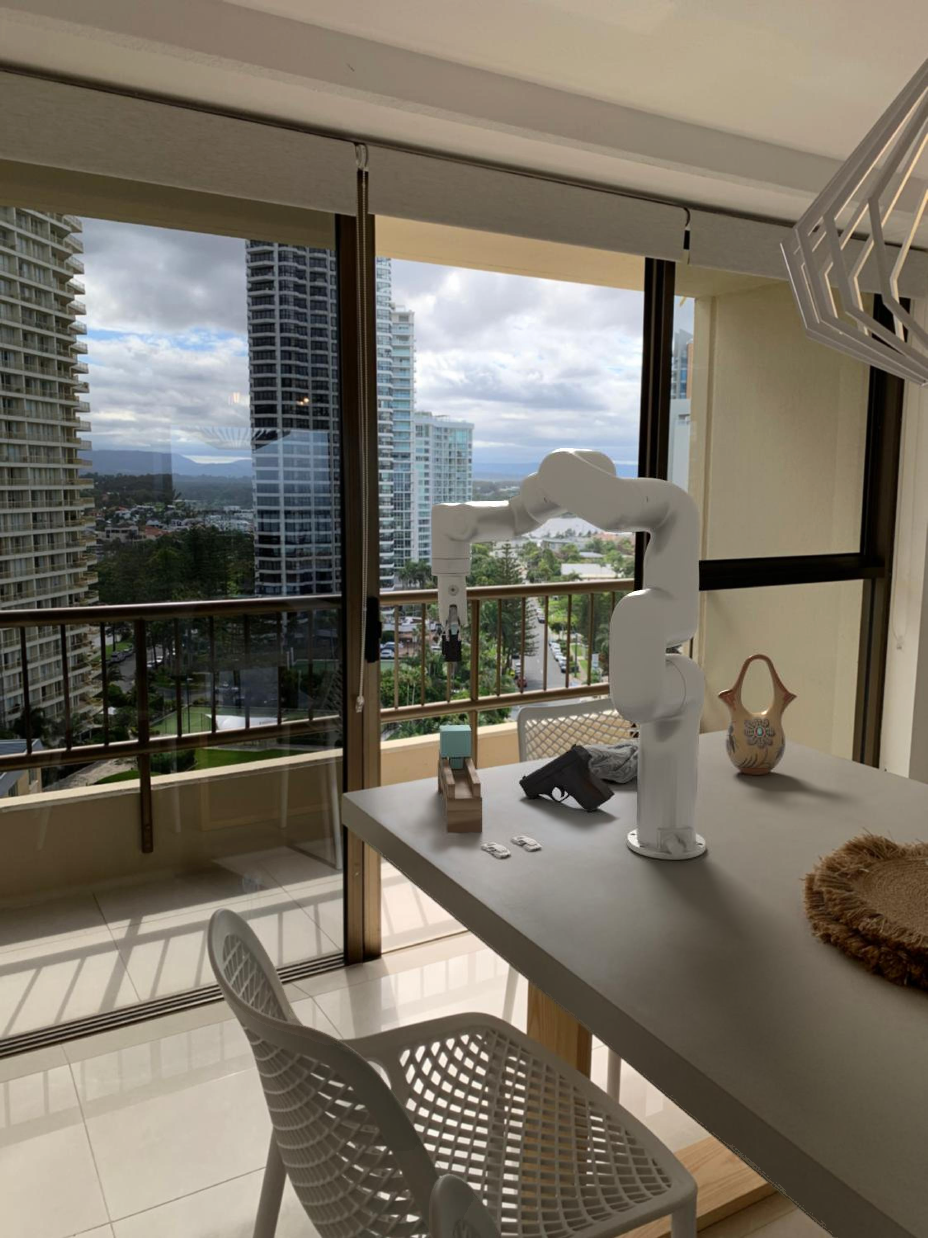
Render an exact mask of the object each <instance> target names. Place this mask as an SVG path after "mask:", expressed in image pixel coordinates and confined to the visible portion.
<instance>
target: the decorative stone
mask: <svg viewBox="0 0 928 1238" xmlns="http://www.w3.org/2000/svg"><path fill="white" fill-rule="evenodd" d="M582 746H583V747H584V748H585V749H586V750H587V751H588V752H589V753H590V754H591V755H592V756H593V758H591V759H590V761H589V769H590V770H591V772H592V773H593V774H595V775H596V776H597V777H598V778H600V779H601V780H609V781H615V782H616V783H619V784H625V783H628V782H629V781H631V780H632V779H633V778H635V777H636V778H637V777H638V741H637V740H634V739H626V740H625V741H619V742H615V743H614V744H601V743H600V744H588V745H586V744H585V745H582Z"/></svg>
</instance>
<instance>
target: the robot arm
mask: <svg viewBox="0 0 928 1238" xmlns="http://www.w3.org/2000/svg"><path fill="white" fill-rule="evenodd" d="M539 464H540V465H539V467H538V468H537V469H538V470H537V471H535V472H532V473H531V474H528V475H526V477H524V479H523V480H522V481H521V485H520V490H519V491H520V492H519V494H518V495H516V496H514V497H512V498H509V499H506V500H501V501H468V502H467V501H466V502H460V503H459V502H454V503H453V502H443V503H441V502H440V503H436V504H433V506H432V507H431V511H430V534H431V535H430V538H431V539H430V542H431V543H430V544H431V545H430V546H431V547H430V549H431V551H430V553H431V554H430V555H431V557H430V558H431V561H430V562H431V563H430V564H431V565H430V566H431V569H430V570H431V571H430V572H431V576H435V577H437V603H438V605H437V606H438V617H439V623H440V624H441V626H442V634H441V655H443V656H444V662H446V663H459V662H462V660H463V658H462V653H463V651H462V649H463V647H462V645H463V643H462V639H461V638H462V636H461V626H462V627H463V628H467V626H468V605H467V604H468V603H467V601H468V600H467V582H466V577H467V576H470V575H471V544H474V543H475V544H476V543H487V542H488V543H489V542H505V541H509V540H512V539H516V538H518V537H521V536H524V535H526V534H529V533H531V532H533V531H537V530H538V529H540V528H541V527H542V526H543V525H545V524H546V523H547V522H548V520H551V519H553V518H556V517H559V516H561V515H564V514H566V513H568V512H569V513H571V514H572V515H574V516H576V517H578V518H580V519H581V520H583V521H585V522H587V523H588V524H589V525H592V526H593V527H596V528H597V529H599V530H602V531H605V532H608V533H615V534H622V533H637V532H646V533H648V534H650V539H649V542H648V544H647V547H646V549H645V552H644V559H643V584H642V589H640V590H636V591H632V592H630V593H628V594H626V595H624V596H623V597H622V598H621V599H620V600H619V601H618V603H617V604H616V605H615V607H614V610H613V612H612V615H611V618H610V624H609V645H608V646H609V651H608V652H609V657H608V658H609V666H608V667H609V671H608V672H609V675H608V678H609V679H608V680H609V682H608V683H609V685H608V686H609V694H610V699H611V702H612V703H611V704H612V706H613V707H614V709H615V711H616V713H618V715H620V717H621V718H623V720H626V721H627V722H629V723H631V724H632V723H633V724H636V725H637V724H638V725H639V724H640V727H639V732H638V741H637V742H638V775H637V776H636V778H637V782H636V785H637V787H636V828H635V829H633V830H632V831H629V833H627V835H626V844H627V847H628V848H629V849H631V850H632V851H633V852H635V853H637V854H639V855H641V856H645V857H648V858H652V859H653V858H654V859H660V860H669V861H670V860H671V861H673V860H675V861H676V860H677V861H678V860H688V859H693V858H695V857H698V856H700V855H702V854H704V852H705V851H706V847H707V845H706V844H707V843H706V840H705V838H704V837H703V836H701V835H700V834H698V833H697V816H698V815H697V812H698V811H697V810H698V809H697V808H698V807H697V806H698V778H699V777H698V773H699V772H698V771H699V769H698V768H699V766H698V765H699V753H700V752H699V748H700V747H699V746H700V730H701V721H702V714H703V709H704V705H705V698H706V691H707V689H706V687H707V685H706V679H705V675H704V672H703V670H702V669H701V667H700V666H699V664H698V663H697V662H696V661H695V660H694V659H692V658H691V657H689V656H687V655H684V654H681V653H667V649H668V648H669V649H670V648H673V647H677V646H680V645H684V644H685V643H688V642H689V641H690V640H692V639H693V637H694V636H695V634H696V632H697V630H698V625H699V608H700V607H699V601H700V599H699V597H700V595H699V593H700V589H699V588H700V569H699V568H700V566H699V563H700V560H699V558H700V542H701V517H700V513H699V510H698V508H697V505H696V503H695V501H694V500H693V498H692V497H691V495H690V494H689V493H688V492H687V491H686V490H685V489H683V488H682V487H680V486H678V485H677V484H675V483H673V482H671V481H668V480H663V479H660V478H654V477H619V476H617V469H616V466H615V464H614V462H613V461H612V459H611V458H610V457H609V456H607V455H606V454H605V453H603V452H601V451H598V450H595V449H594V450H593V449H587V448H586V449H584V448H583V449H580V448H567V447H565V448H559V449H556V450H554V451H551V452H550V453H549V454H547V455H546V456H545V457H544V458H543V459H542V461H541V462H540V463H539Z"/></svg>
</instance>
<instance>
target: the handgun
mask: <svg viewBox="0 0 928 1238" xmlns="http://www.w3.org/2000/svg"><path fill="white" fill-rule="evenodd" d="M583 746H584V745H581V744H578V745H577V744H576V743H574V744H573V745H572V746H571V747H570V749H569V750H568V751H565V752H563V754H562V753H561V755H559V756H557V757H556V758H554V759H553V760H551V761H550V762H548V763H546V764H544V765H543V766H542V767H540V768H538V769H536V770H534V771H532V772H531V773H529V774H528V775H525V774H524V775H523V776H522V777H521V779H520V780H519V781H518V785H520V787H521V789H522V790H523V793H524V795H525V796H526V798H528V800H531V799H534V798H536V797H538V796H540V795H542V796H544V795H545V796H547V797H548V798H550V799H551V800H552V801H553V802H554V803H557V804H559V803H562V802H563V801H565V800H567V799H568V798H569V797H572V798H573V799H574V800H575V802H576V803H578V805H580V807H581V808H582V809H584V811H586V813H590V812H592V811H594V810H596V809H597V808H599V807H601V806H602V805H603V804H605V803H606V802H608V801H609V800H611V798H612V797H614V796H615V792H614V791H613V790H612V788H611V787H610V786H609V785H608V784H607V783H606V782H604V781H603V779H600V778H598V777H597V776H596V775H595V774H593V773H592V772H591V770H590V769H589V761H590V759H591V758H593V756H592V755H591V754H590V753H589V752H588V751H587V750H586V749H585V748H584V747H583ZM555 788H556V789H558V790H559V791H560V798H561V799H560V798H559V799H560V800H559V799H556V798H555V796H554V795H553V791H554V790H555ZM565 793H566V794H567V795H566V794H565Z"/></svg>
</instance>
